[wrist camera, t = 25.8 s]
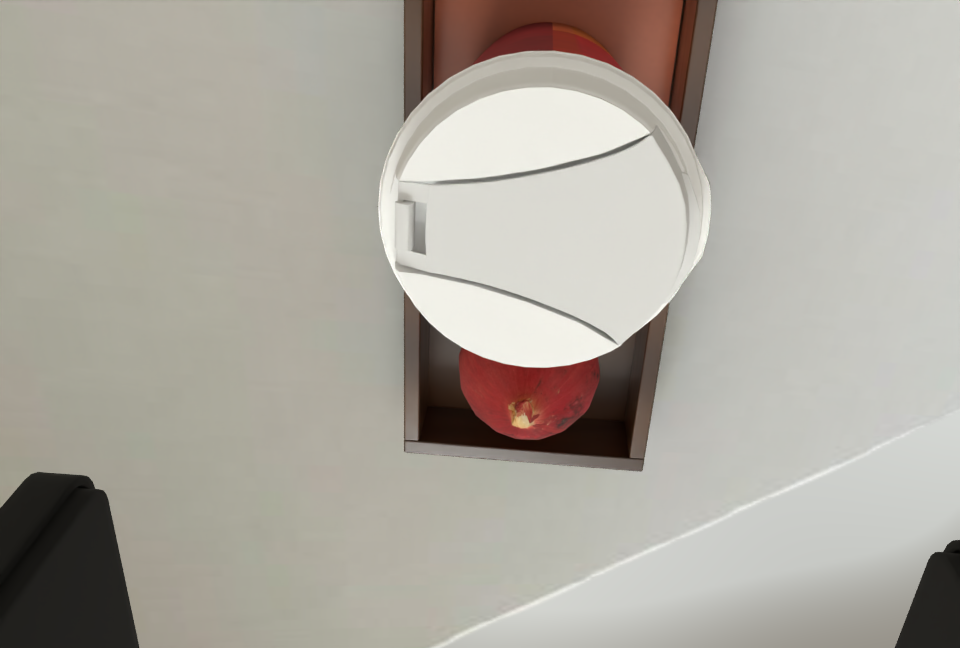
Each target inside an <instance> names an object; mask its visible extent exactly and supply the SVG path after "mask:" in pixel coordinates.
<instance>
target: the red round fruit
mask: <svg viewBox="0 0 960 648" xmlns="http://www.w3.org/2000/svg"><path fill="white" fill-rule="evenodd" d="M459 372H460V383H461V389H462V391H463V394H464V396H465V398H466V399H467V401H468V403H469V404H470V406H471V408H472V410H473V411H474V413H475V415H476V416H477V417H479V418H480V419H481V420H482V421H483V422H485V423H486V424H487V425H488V426H490V427H491V428H492V429H493V430H495V431H496V432H498V433H501V434H504V435H507V436H509V437H512V438H515V439H527V440H540V439H543V438H546V437H549V436H552V435H555V434H557V433H560V432H563V431H564V430H566V429H567V428H568V427H569V426H570V425H572V424H573V423H574V422H575V421H576V420H577V419H578V418H580V417H581V416H582V415H583V414H584V413H585V412H586V411H587V410H588V408H589V406H590V404H591V401H592V399H593V396H594V393H595V391H596V388H597V386H598V383H599V379H600V368H599V360H598V357H596V358H594V359H591V360H587V361H583V362H580V363H576V364H572V365H566V366H557V367H549V368H541V367H522V366H515V365H509V364H503V363H500V362H497V361H493V360H490V359H487V358H484V357H481V356H479V355H477V354H475V353H473V352H470V351H468V350H466V349H464V348H461V351H460V353H459Z"/></svg>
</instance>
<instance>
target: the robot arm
mask: <svg viewBox="0 0 960 648" xmlns="http://www.w3.org/2000/svg"><path fill="white" fill-rule="evenodd" d="M0 648H139V644H138V639H137V634H136V630H135V625H134V620H133V615H132V611H131V606H130V601H129V596H128V592H127V587H126V582H125V577H124V573H123V568H122V563H121V558H120V554H119V549H118V544H117V539H116V535H115V530H114V525H113V520H112V516H111V511H110V506H109V501H108V498H107V495H106V493H105V492H104V491H103V490H99V489H95V487H94V484H93V482H92V481H91V479H90V478H89V477H87V476H83V475H70V474H56V473H43V472H37V473H34V474H31V475H30V476H29V477H28V478H26V479H25V480H24V481H23V483H22V484H21V485H20V486H19V487H18V488H17V490H16V491H15V492H14V493H13V494H12V495H11V496H10V498H9V499H8V500H7V501H6V502H5V503H4V505H3V506H2V507H1V508H0ZM895 648H960V540H955V541H952V542H950V543H949V544H948V545H947V546H946V548H945V550H944V552H935V553H934V554H932V555H931V557H930V559H929V560H928V563H927V566H926V568H925V571H924V573H923V576H922V578H921V581H920V584H919V586H918V589H917V591H916V594H915V597H914V599H913V602H912V604H911V607H910V610H909V613H908V615H907V618H906V620H905V623H904V626H903V628H902V631H901V633H900V636H899V638H898V641H897V644H896V646H895Z"/></svg>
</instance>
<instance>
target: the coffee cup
mask: <svg viewBox="0 0 960 648" xmlns="http://www.w3.org/2000/svg"><path fill="white" fill-rule="evenodd" d="M378 212H379V225H380V232H381V236H382V240H383V244H384V249H385V253H386V255H387V258H388V260H389V262H390V265H391V267H392V269H393V272H394V274H395V276H396V277H397V279H398V281H399V282H400V284H401V285H402V287H403V289H404V290H405V292H406V294H407V295H408V296H409V297H410V299H411V301H412V302H413V304H414V305H415V307H416V308H417V309H418V310H419V311H420V313H421V314H422V315H423V316H424V317H425V318H426V320H427V321H428V322H429V323H430V324H431V325H433V326H434V327H435V328H436V329H437V330H438V331H439V332H441V333H442V334H443V335H444V336H445V337H447V338H448V339H450V340H451V341H453V342H454V343H456V344H458V345H459V346H461V347H462V348H464V349H466V350H468V351H470V352H473V353H475V354H477V355H479V356H481V357H484V358H487V359H490V360H493V361H497V362H500V363H503V364H509V365H515V366H522V367H541V368H549V367H557V366H566V365H572V364H576V363H580V362H583V361H587V360H591V359H594V358H596V357H598V356H601V355H603V354H606V353H608V352H610V351H612V350H614V349H616V348H618V347H619V346H621V345H622V343H623V342H625V341H626V340H627V339H628V338H629V337H630V336H632V335H633V334H634V333H635V332H637V331H638V330H639V329H641V328H642V327H643V326H644V325H646V324H647V323H648V322H649V321H651V320H652V319H653V318H654V317H655V316H657V315H658V314H659V312H660V311H661V310H662V309H663V308H664V307H665V306H666V305H667V304H668V303H669V301H670V300H671V299H672V298H673V297H674V295H675V294H676V292H677V291H678V289H679V288H680V286H681V285H682V283H683V282H684V280H685V279H686V277H687V276H688V275H689V273H690V272H691V271H692V269H693V268H694V267H695V265H696V264H697V263H698V261H699V260H700V259H701V257H702V255H703V251H704V248H705V244H706V241H707V237H708V233H709V225H710V216H711V196H710V183H709V181H708V179H707V177H706V175H705V173H704V171H703V169H702V167H701V165H700V162H699V160H698V158H697V156H696V154H695V151H694V149H693V147H692V144H691V142H690V140H689V137H688V135H687V133H686V132H685V130H684V129H683V127H682V126H681V124H680V123H679V121H678V120H677V118H676V117H675V115H674V114H673V112H672V111H671V110H670V109H669V108H668V107H667V106H666V105H665V104H664V102H663V101H662V100H661V99H660V98H659V97H658V96H657V95H656V94H655V93H654V92H653V91H651V90H650V89H649V88H648V87H646V86H645V85H644V84H642V83H641V82H640V81H638V80H637V79H636V78H634V77H633V76H631V75H629V74H627V73H626V72H624V71H623V70H622V68H621V67H620V66H619V64H618V63H617V62H616V61H615V59H614V58H613V57H612V56H611V54H610V53H609V52H608V51H607V50H606V49H605V48H604V47H603V46H602V45H601V44H600V43H599V42H598V41H597V40H596V39H594V38H593V37H592V36H590V35H589V34H587V33H585V32H584V31H582V30H580V29H578V28H575V27H573V26H570V25H566V24H562V23H556V22H538V23H532V24H527V25H524V26H521V27H519V28H516V29H514V30H512V31H510V32H508V33H507V34H505V35H503V36H502V37H500V38H499V39H498V40H497V41H495V42H494V43H493V44H492V45H491V46H490V47H488V48H487V49H486V50H485V51H484V52H483V53H482V55H481V56H480V57H479V58H478V59H477V60H476V61H475V62H474V63H473V64H472V65H471V66H470V67H468V68H466V69H465V70H463V71H461V72H459V73H457V74H455V75H453V76H452V77H450V78H448V79H447V80H446V81H444V82H443V83H442V84H441V85H439V86H438V87H437V88H436V89H434V90H433V91H432V92H430V93H429V94H428V95H427V96H426V97H425V98H424V99H423V100H422V101H421V103H420V104H419V105H418V106H417V107H416V108H415V109H414V110H413V111H412V112H411V113H410V115H409V116H408V118H407V120H406V121H405V123H404V124H403V126H402V127H401V129H400V130H399V132H398V133H397V135H396V137H395V139H394V141H393V144H392V146H391V148H390V150H389V153H388V155H387V157H386V160H385V164H384V168H383V172H382V176H381V180H380V188H379V200H378Z"/></svg>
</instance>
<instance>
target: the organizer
mask: <svg viewBox="0 0 960 648" xmlns="http://www.w3.org/2000/svg"><path fill="white" fill-rule="evenodd" d="M717 3H718V0H404V123H405V121H406V120H407V118H408V116H409V115H410V113H411V112H412V111H413V110H414V109H415V108H416V107H417V106H418V105H419V104H420V103H421V101H422V100H423V99H424V98H425V97H426V96H427V95H428V94H429V93H430V92H432V91H433V90H434V89H436V88H437V87H438V86H439V85H441V84H442V83H443V82H444V81H446V80H447V79H448V78H450V77H452V76H453V75H455V74H457V73H459V72H461V71H463V70H465V69H466V68H468V67H470V66H471V65H472V64H473V63H474V62H475V61H476V60H477V59H478V58H479V57H480V56H481V55H482V53H483V52H484V51H485V50H486V49H487V48H488V47H490V46H491V45H492V44H493V43H494V42H495V41H497V40H498V39H499V38H500V37H502V36H503V35H505V34H507V33H508V32H510V31H512V30H514V29H516V28H519V27H521V26H524V25H527V24H532V23H538V22H556V23H562V24H566V25H570V26H573V27H575V28H578V29H580V30H582V31H584V32H585V33H587V34H589V35H590V36H592V37H593V38H594V39H596V40H597V41H598V42H599V43H600V44H601V45H602V46H603V47H604V48H605V49H606V50H607V51H608V52H609V53H610V54H611V56H612V57H613V58H614V59H615V61H616V62H617V63H618V64H619V66H620V67H621V68H622V70H623V71H624V72H626V73H627V74H629V75H631V76H633V77H634V78H636V79H637V80H638V81H640V82H641V83H642V84H644V85H645V86H646V87H648V88H649V89H650V90H651V91H653V92H654V93H655V94H656V95H657V96H658V97H659V98H660V99H661V100H662V101H663V102H664V104H665V105H666V106H667V107H668V108H669V109H670V110H671V111H672V112H673V114H674V115H675V117H676V118H677V120H678V121H679V123H680V124H681V126H682V127H683V129H684V130H685V132H686V133H687V135H688V137H689V140H690V142H691V144H692V147H693V149H694V147H695V140H696V134H697V128H698V122H699V115H700V109H701V103H702V97H703V90H704V84H705V78H706V72H707V65H708V59H709V53H710V47H711V41H712V34H713V28H714V22H715V16H716V9H717ZM669 302H670V301H669ZM668 309H669V303H668V304H667V305H666V306H665V307H664V308H663V309H662V310H661V311H660V312H659V314H658V315H657V316H655V317H654V318H653V319H652V320H651V321H649V322H648V323H647V324H646V325H644V326H643V327H642V328H641V329H639V330H638V331H637V332H635V333H634V334H633V335H632V336H630V337H629V338H628V339H627V340H626V341H625V342H623V343H622V345H621V346H619V347H618V348H616V349H614V350H612V351H610V352H608V353H606V354H603V355H601V356H598V360H599V368H600V379H599V383H598V386H597V388H596V391H595V393H594V396H593V399H592V401H591V404H590V406H589V408H588V410H587V411H586V412H585V413H584V414H583V415H582V416H581V417H580V418H578V419H577V420H576V421H575V422H574V423H573V424H572V425H570V426H569V427H568V428H567V429H566V430H564V431H563V432H560V433H557V434H555V435H552V436H549V437H546V438H543V439H540V440H527V439H515V438H512V437H509V436H507V435H504V434H501V433H498V432H496V431H495V430H493V429H492V428H491V427H490V426H488V425H487V424H486V423H485V422H483V421H482V420H481V419H480V418H479V417H477V416H476V415H475V413H474V411H473V410H472V408H471V406H470V404H469V403H468V401H467V399H466V398H465V396H464V394H463V391H462V389H461V383H460V372H459V353H460V351H461V348H462V347H461V346H459V345H458V344H456V343H454V342H453V341H451V340H450V339H448V338H447V337H445V336H444V335H443V334H442V333H441V332H439V331H438V330H437V329H436V328H435V327H434V326H433V325H431V324H430V323H429V322H428V321H427V320H426V318H425V317H424V316H423V315H422V314H421V313H420V311H419V310H418V309H417V308H416V307H415V305H414V304H413V302H412V301H411V299H410V297H409V296H408V295H407V294H406V292H405V290H404V451H405V452H407V453H419V454H431V455H444V456H456V457H468V458H481V459H493V460H505V461H517V462H530V463H542V464H554V465H567V466H579V467H591V468H603V469H616V470H628V471H640V472H641V471H642V470H643V465H644V457H645V452H646V446H647V440H648V433H649V427H650V421H651V415H652V408H653V402H654V396H655V390H656V383H657V377H658V371H659V365H660V358H661V352H662V346H663V340H664V333H665V327H666V321H667V315H668Z"/></svg>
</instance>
